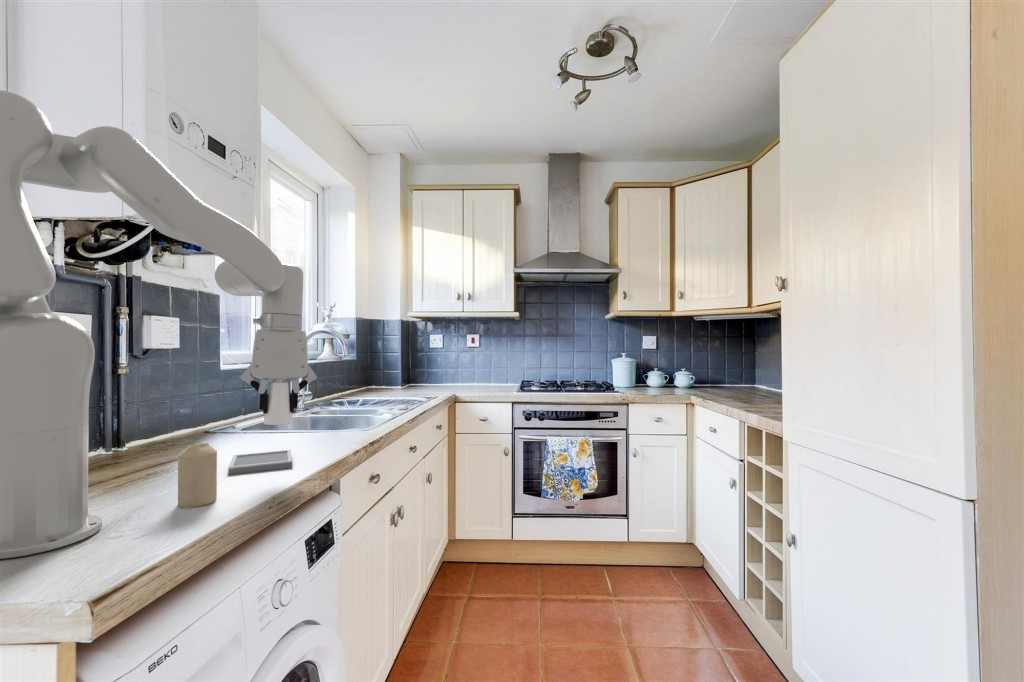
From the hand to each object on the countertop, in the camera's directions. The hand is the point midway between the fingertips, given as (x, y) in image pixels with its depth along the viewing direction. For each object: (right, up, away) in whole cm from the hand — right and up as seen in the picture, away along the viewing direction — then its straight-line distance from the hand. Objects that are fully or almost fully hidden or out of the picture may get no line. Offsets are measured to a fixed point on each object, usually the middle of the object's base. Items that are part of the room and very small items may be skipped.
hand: (278, 411), depth 93 cm
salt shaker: (0, -3, 0) cm, 3 cm away
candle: (-6, -14, -15) cm, 21 cm away
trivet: (-9, -14, +9) cm, 19 cm away
